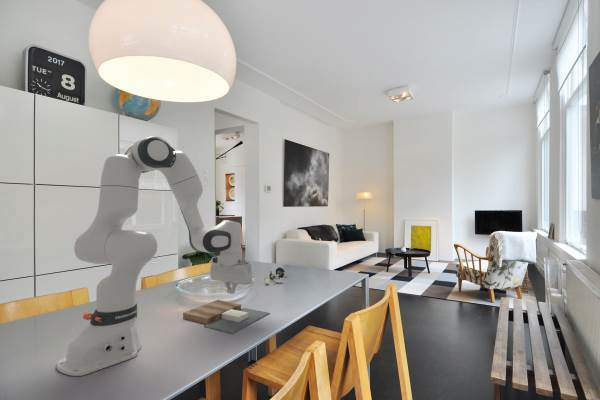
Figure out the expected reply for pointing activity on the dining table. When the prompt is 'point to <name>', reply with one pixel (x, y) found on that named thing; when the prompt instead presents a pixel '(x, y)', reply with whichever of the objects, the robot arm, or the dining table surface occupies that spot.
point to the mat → (234, 326)
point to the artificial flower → (270, 280)
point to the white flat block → (235, 315)
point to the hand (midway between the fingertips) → (230, 293)
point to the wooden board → (210, 311)
